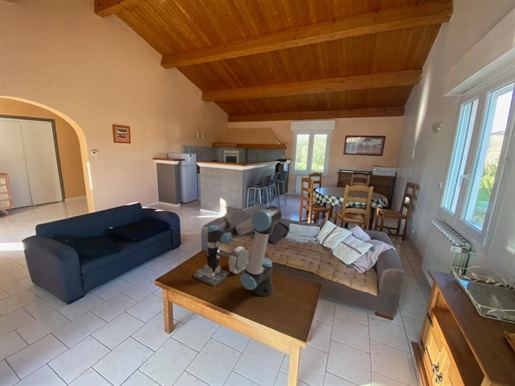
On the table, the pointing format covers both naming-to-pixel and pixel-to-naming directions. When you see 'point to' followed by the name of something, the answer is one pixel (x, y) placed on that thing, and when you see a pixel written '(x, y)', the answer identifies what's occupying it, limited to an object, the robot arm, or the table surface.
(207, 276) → the fader
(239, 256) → the alarm clock
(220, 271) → the fader
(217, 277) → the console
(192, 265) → the table surface
